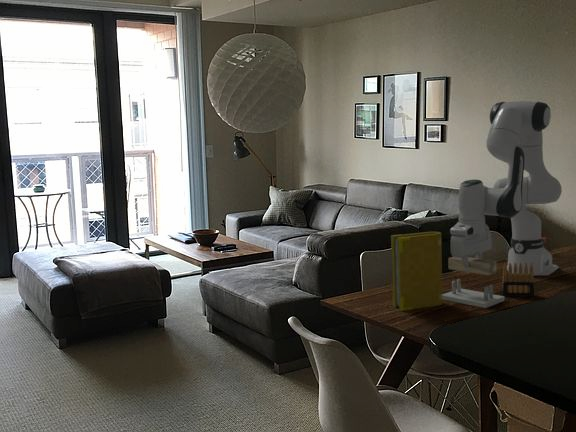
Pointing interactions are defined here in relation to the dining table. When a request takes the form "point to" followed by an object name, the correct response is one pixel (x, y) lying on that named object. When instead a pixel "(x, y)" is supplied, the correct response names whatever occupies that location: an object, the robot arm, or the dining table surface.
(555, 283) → the dining table surface
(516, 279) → the ammunition clip
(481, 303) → the peg stand
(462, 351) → the dining table surface
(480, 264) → the tan bar
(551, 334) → the dining table surface
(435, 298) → the book
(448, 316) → the dining table surface
